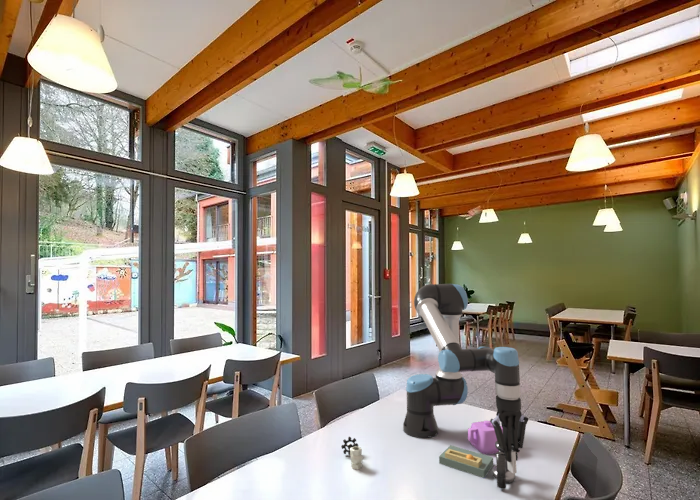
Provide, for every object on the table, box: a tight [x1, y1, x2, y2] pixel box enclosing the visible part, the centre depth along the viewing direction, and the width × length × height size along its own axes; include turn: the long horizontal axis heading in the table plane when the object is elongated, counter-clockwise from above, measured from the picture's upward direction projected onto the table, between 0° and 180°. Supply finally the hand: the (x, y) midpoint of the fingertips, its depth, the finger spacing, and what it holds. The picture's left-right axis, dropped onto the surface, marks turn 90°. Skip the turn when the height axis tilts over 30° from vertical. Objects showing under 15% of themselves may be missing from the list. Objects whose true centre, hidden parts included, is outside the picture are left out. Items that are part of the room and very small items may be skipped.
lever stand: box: [438, 444, 494, 479], centre depth 130 cm, size 16×11×5 cm
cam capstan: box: [491, 441, 516, 490], centre depth 119 cm, size 13×7×11 cm, turn 152°
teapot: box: [467, 420, 503, 455], centre depth 142 cm, size 18×10×10 cm, turn 104°
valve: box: [341, 436, 363, 471], centre depth 132 cm, size 7×7×12 cm
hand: (512, 471), depth 115 cm, fingers closed
